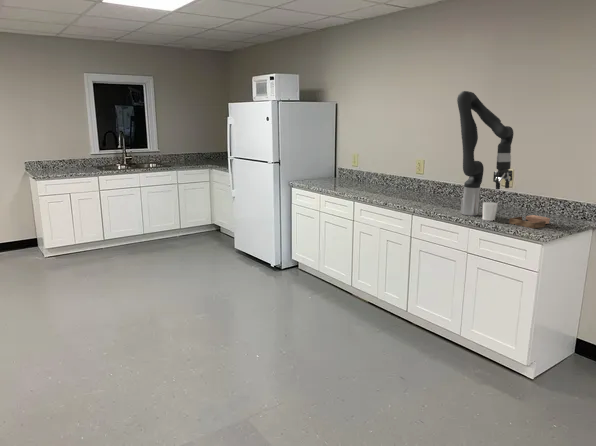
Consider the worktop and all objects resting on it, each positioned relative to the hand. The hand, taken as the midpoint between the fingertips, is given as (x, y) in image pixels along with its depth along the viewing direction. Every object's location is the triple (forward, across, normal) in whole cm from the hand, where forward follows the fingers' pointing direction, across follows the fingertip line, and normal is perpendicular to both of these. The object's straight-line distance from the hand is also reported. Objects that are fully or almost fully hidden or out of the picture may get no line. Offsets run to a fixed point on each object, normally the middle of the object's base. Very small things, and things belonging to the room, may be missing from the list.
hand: (502, 188), depth 272 cm
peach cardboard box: (+19, -9, +17) cm, 27 cm away
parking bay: (+19, 0, +17) cm, 26 cm away
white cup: (+18, +7, -3) cm, 20 cm away
